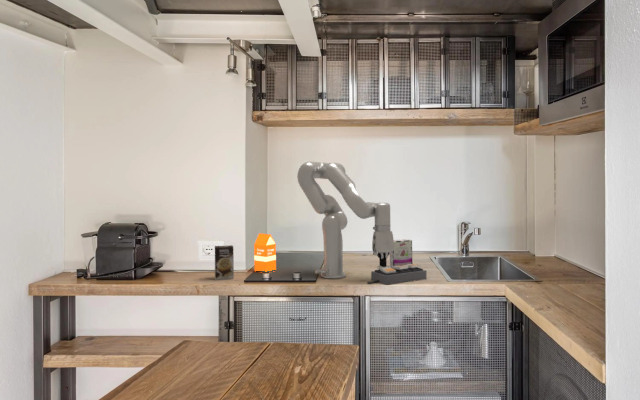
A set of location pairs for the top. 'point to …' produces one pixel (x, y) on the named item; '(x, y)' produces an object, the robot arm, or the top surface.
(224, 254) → the coffee box
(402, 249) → the candy bar box
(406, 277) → the power strip
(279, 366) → the top surface
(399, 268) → the rocker middle
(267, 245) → the orange juice
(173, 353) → the top surface
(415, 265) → the rocker right
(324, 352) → the top surface
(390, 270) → the rocker left
